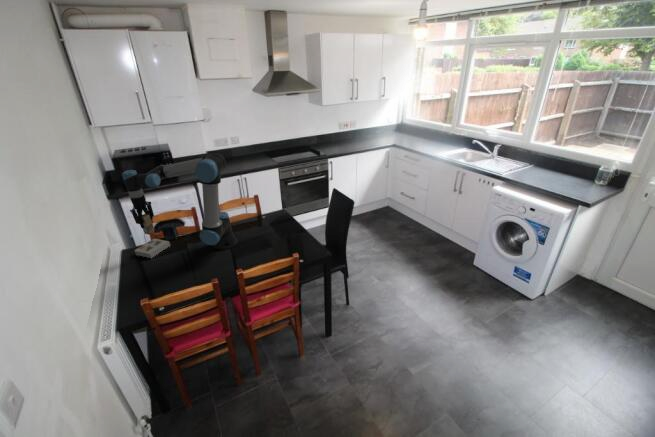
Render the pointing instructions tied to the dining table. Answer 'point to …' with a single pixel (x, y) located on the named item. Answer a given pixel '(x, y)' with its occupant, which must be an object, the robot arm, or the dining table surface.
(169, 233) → the box
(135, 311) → the dining table surface
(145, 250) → the socket block
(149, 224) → the peg
